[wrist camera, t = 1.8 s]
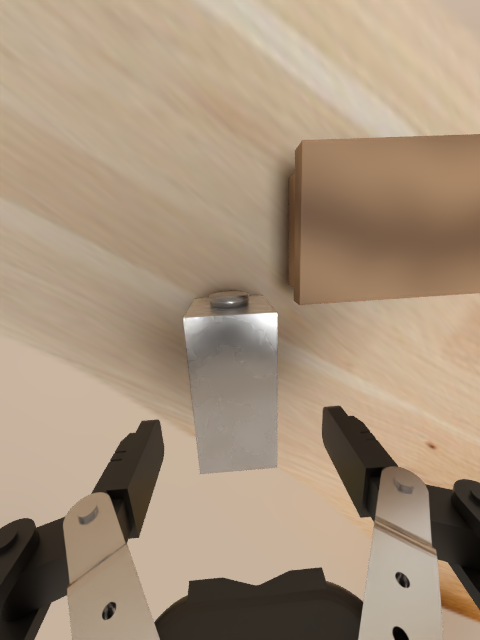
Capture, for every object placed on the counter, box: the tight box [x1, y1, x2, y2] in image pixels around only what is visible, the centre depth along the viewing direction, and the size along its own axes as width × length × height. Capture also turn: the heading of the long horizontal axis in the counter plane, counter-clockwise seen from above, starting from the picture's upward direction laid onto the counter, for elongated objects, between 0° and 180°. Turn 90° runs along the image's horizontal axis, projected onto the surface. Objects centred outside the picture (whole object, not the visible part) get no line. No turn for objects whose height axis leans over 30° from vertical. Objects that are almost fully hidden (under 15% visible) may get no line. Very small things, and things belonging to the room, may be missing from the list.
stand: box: [289, 134, 480, 305], centre depth 15 cm, size 8×11×4 cm
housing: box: [183, 291, 277, 474], centre depth 16 cm, size 11×5×6 cm, turn 2°
